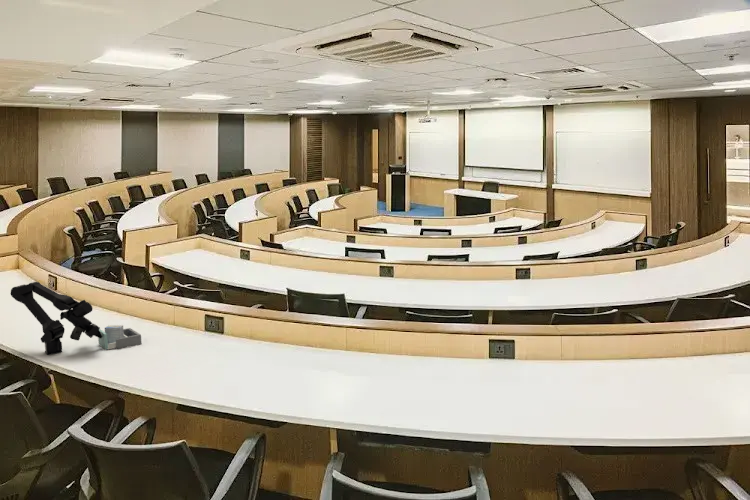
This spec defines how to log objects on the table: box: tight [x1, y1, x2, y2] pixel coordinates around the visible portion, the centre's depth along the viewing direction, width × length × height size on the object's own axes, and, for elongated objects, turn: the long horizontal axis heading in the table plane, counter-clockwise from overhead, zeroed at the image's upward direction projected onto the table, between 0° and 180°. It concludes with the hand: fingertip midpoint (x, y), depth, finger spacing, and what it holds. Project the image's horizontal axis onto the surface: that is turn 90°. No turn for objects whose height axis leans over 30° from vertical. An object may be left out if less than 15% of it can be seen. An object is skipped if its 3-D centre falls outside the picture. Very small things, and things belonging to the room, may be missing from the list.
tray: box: [97, 328, 127, 350], centre depth 287 cm, size 13×13×8 cm
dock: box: [115, 327, 142, 350], centre depth 290 cm, size 12×16×5 cm
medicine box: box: [104, 324, 124, 343], centre depth 286 cm, size 8×4×9 cm, turn 93°
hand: (101, 337), depth 281 cm, fingers closed
